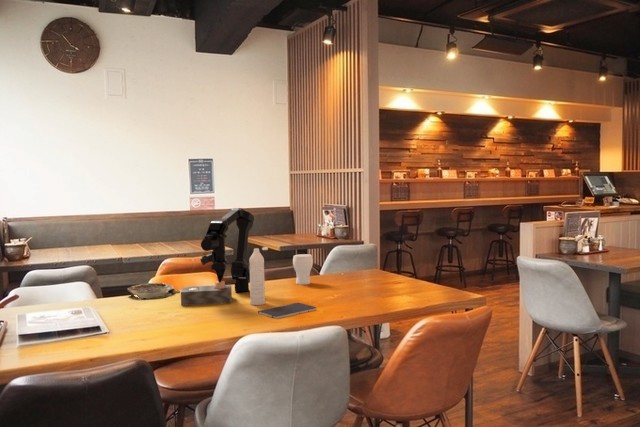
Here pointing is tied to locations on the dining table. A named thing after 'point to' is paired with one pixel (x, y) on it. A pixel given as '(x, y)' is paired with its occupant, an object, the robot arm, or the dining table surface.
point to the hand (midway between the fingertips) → (219, 281)
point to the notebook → (287, 310)
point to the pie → (151, 290)
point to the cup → (302, 268)
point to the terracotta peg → (220, 285)
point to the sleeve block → (206, 295)
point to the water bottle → (257, 278)
